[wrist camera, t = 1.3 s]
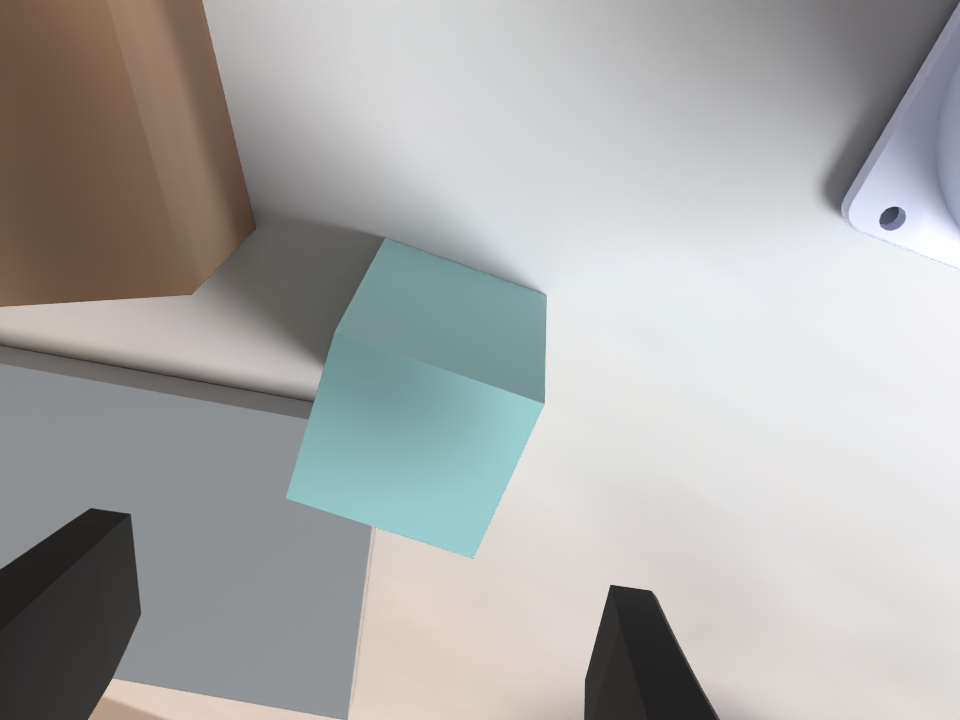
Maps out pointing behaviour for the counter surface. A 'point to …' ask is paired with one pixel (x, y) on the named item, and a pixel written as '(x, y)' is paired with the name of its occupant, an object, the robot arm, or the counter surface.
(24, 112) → the walnut block
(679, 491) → the counter surface
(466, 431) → the teal block
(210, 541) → the slate coaster
